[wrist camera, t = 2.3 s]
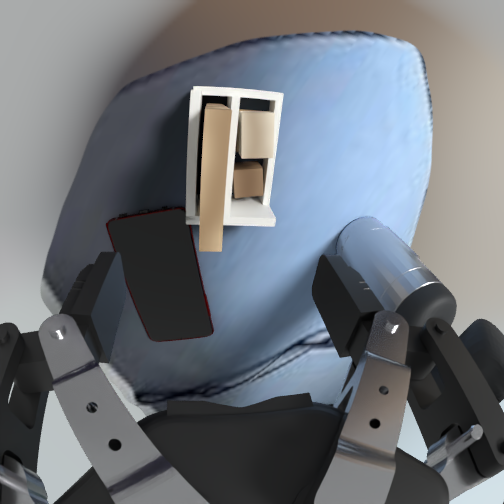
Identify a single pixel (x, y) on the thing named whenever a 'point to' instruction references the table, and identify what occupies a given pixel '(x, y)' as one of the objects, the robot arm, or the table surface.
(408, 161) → the table surface
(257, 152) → the offcut maple
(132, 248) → the smartphone
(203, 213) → the tan rectangular block
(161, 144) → the table surface
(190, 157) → the rack
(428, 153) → the table surface
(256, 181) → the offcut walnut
